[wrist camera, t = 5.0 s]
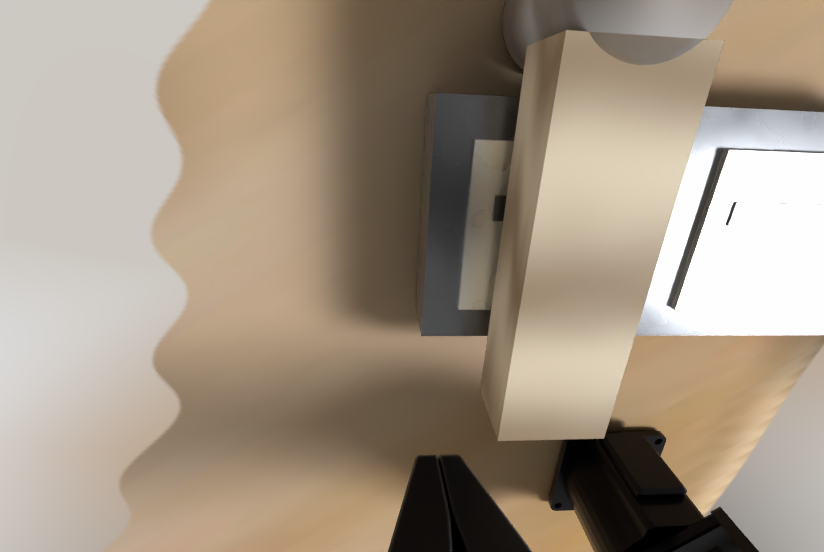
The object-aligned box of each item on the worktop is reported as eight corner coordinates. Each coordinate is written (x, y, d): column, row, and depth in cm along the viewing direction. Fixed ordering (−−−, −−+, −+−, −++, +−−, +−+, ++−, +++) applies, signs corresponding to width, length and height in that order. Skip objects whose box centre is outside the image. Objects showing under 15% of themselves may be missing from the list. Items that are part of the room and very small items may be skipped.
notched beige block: (510, -56, 15) (598, -164, 9) (623, -46, 15) (780, -144, 9) (465, 349, 22) (497, 441, 16) (543, 348, 22) (604, 438, 16)
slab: (769, 307, 22) (832, 339, 19) (416, 305, 21) (422, 340, 18) (853, 116, 19) (948, 118, 15) (427, 94, 17) (437, 92, 14)
